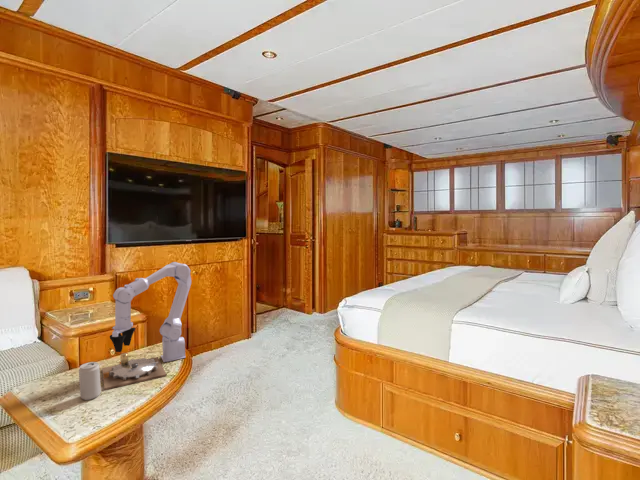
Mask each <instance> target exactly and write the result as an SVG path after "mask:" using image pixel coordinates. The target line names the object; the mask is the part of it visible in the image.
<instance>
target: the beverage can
mask: <svg viewBox="0 0 640 480" xmlns="http://www.w3.org/2000/svg"><path fill="white" fill-rule="evenodd" d="M78 378H79V381H78V382H79V395H80V399H82V400H84V401H89V400H93V399H96V398H97V397H98V396H99V395H101V391H102V390H101V389H102V387H101V371H100V365H99V362H97V361H89V362H85V363H83V364H81V365H80V366H79V369H78Z"/></svg>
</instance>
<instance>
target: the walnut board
mask: <svg viewBox="0 0 640 480" xmlns="http://www.w3.org/2000/svg"><path fill="white" fill-rule="evenodd" d="M149 359H154V361H155V362H158V365H157V366H158V369H157V370H153V371H152V372H151V374H149V375H148V374H146V375H143V376H140V377H139V378H129V379H126V380H123V379H121V378H116V379H114V378H113V375H110V371H112V367H116V366H117V365H118V364H116V365H111V366H106V367H102V368H101V370H102V379H103V389H104V391H107V390H111V389H116V388H121V387H125V386H130V385H134V384H138V383H142V382H147V381H152V380H155V379H159V378H164V377H167V372H166V371H165V368H164V367H163V365H162V363H161V360H160V358H159V357H158V356H155V357H150V358H149Z"/></svg>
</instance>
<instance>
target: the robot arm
mask: <svg viewBox="0 0 640 480" xmlns="http://www.w3.org/2000/svg"><path fill="white" fill-rule="evenodd" d="M191 272H192V271H191V269H190V267H189V266H188V265H187V264H186V263H180V262H177V261H172V262H171V263H170V262H169V264H166V265H165V266H163V267H162V268H160V269H159V270H156V271H155V272H153V273H152V274H150V275H149V276H147V277H136V278H135V279H134V281H132V282H130V283H128V284H124V286H123V287H122V286H121V287H118V288H116V290H115V291H114V293H113V294H112V296H113V299H114V300H115V308H114V309H115V311H114V312H115V313H114V314H115V316H114V317H115V319H114V321H115V323H114V326H113V327H112V329H111V330H113V331H112V333H111V334H110V335H109V339H110V341H111V343H112V344H113V347H114V350H115V351H114V352H115V353H122V351H123V347H124V346H125V347H127V346H131V342H132V338H133V334H134V333H135V331H136V327H134V322H133V321H132V320H131V319H132V318H131V317H132V316H131V315H132V313H131V312H132V311H131V310H132V305H131V303H132V300H133V299H134V297H136V296H138V295H139V294H141V293H143V292H145V291H146V290H148V289H149V287H150V285H152V284H155V283H156V282H158V281H160V280H162V279H164V278H166V277H170V278H171V277H173V278H174V279H175V281H176V282H177V288H176V291H175V295H174V298H173V301H172V304H171V306H170V311H169V313H168V317H166V318H165V319H164V322H163V324H162V325H161V326H160V328H159V333H160V335H161V336H162V339H161V340H162V355H160V358H161V359H162V361H163V363H167V362H172V361H177V360H180V359H181V360H182V359H185V358H186V342H185V338H184V337H183V336H181V335H182V326H183V325H182V321H181V318H182V315H183V312H184V309H185V306H186V303H187V302H186V301H187V299H188V295H189V291H190V289H191V285H192V276H191Z"/></svg>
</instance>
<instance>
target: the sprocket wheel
mask: <svg viewBox="0 0 640 480" xmlns="http://www.w3.org/2000/svg"><path fill="white" fill-rule="evenodd" d="M116 365H117V366H116V367H112V371H110V375H113V378H114V379H116V378H121V379H123V380H126V379H129V378H139V377H140V376H143V375H146V374H148V375H149V374H151V372H152V371H153V370H157V369H158V366H157V365H158V362H155V361H154V359H150V358H146V357H142V358H135V359H134V358H132V359H130V360H129V353H128V352H124V353H120V361H119V364H116Z"/></svg>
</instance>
